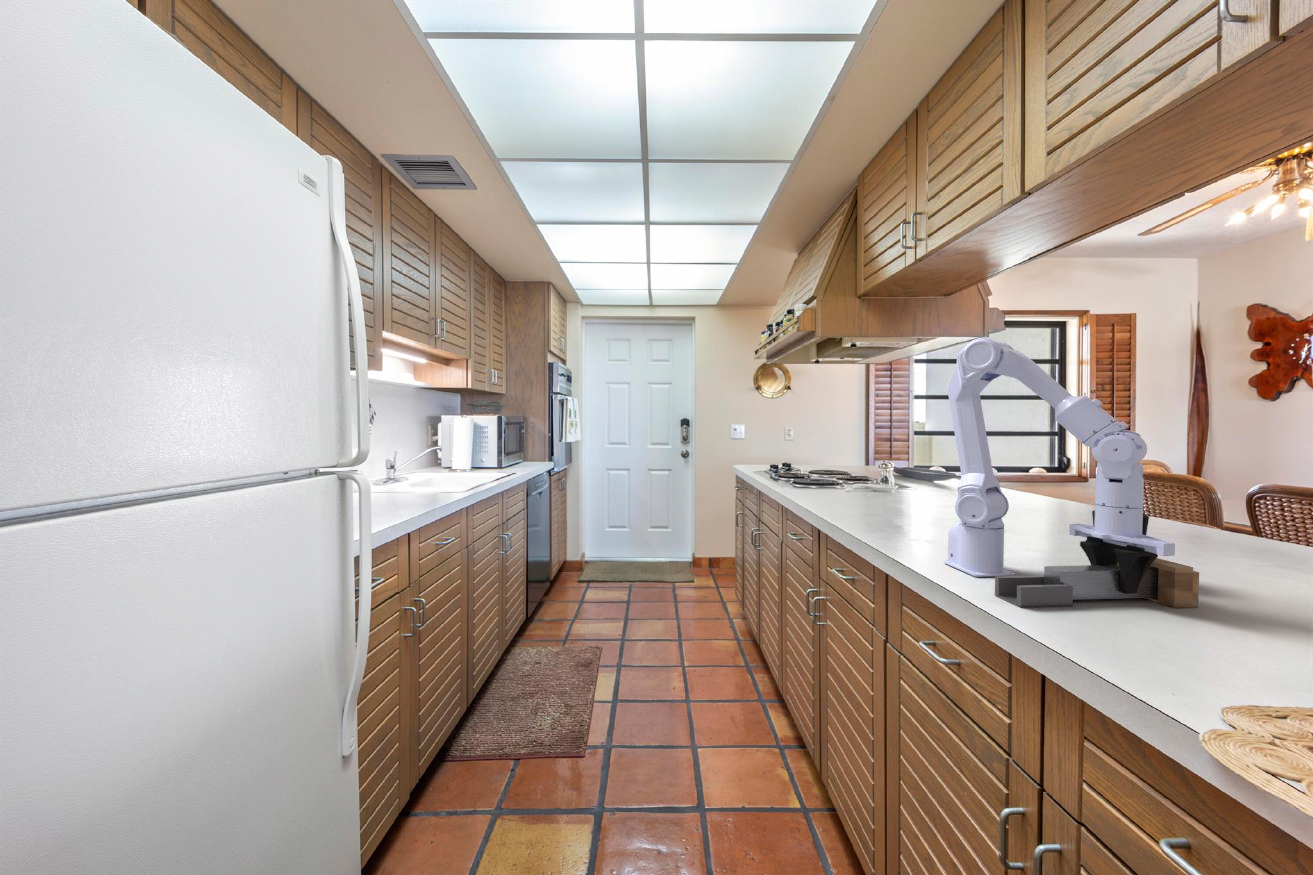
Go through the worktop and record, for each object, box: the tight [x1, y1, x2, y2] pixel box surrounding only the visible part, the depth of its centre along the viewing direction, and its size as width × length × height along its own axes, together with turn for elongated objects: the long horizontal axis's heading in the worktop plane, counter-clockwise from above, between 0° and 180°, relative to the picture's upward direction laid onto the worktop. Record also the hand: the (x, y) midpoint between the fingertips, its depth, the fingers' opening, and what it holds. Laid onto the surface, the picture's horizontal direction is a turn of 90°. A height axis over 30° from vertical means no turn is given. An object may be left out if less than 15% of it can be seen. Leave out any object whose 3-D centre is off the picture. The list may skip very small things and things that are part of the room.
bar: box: [1043, 564, 1159, 601], centre depth 81 cm, size 3×18×5 cm, turn 94°
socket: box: [1117, 557, 1200, 609], centre depth 82 cm, size 9×4×6 cm, turn 4°
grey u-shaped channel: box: [994, 574, 1073, 609], centre depth 81 cm, size 5×8×3 cm, turn 94°
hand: (1116, 588), depth 82 cm, fingers closed on bar, 3 cm apart
